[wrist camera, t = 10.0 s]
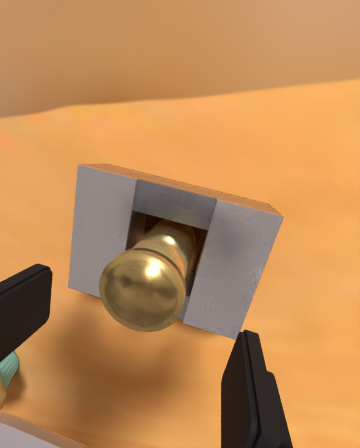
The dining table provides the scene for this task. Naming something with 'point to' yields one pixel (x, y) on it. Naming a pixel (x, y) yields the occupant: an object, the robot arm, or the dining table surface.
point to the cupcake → (7, 374)
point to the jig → (183, 213)
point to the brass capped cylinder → (149, 278)
